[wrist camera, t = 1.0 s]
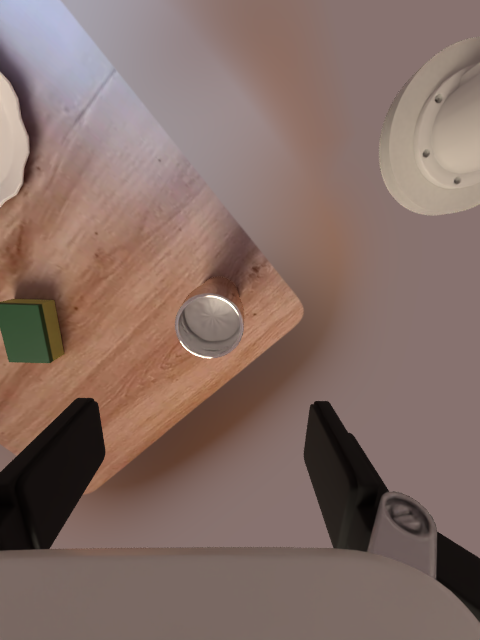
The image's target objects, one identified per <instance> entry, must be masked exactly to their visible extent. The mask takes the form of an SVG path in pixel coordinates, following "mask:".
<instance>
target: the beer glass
mask: <svg viewBox="0 0 480 640" xmlns="http://www.w3.org/2000/svg"><path fill="white" fill-rule="evenodd" d="M175 330H176V334H177V337H178V339H179V341H180V343H181V344H182V345H183V346H184V347H185V348H186V349H187V350H188V351H189V352H191V353H192V354H194V355H197V356H199V357H203V358H217V357H221V356H224V355H226V354H228V353H230V352H231V351H232V350H233V349H235V347H236V346H237V345H238V344H239V342H240V340H241V338H242V335H243V330H244V308H243V305H242V302H241V299H240V298H239V293H238V290H237V287H236V286H235V284H234V283H233V282H232V281H231V280H229V279H227V278H225V277H221V276H216V277H212V278H209V279H208V280H206V281H205V282H204V283H203V284H202V285H201V286H199V287H197V288H196V289H194V290H193V291H192V292H191V293H190V294H189V295H188V296H187V297H186V299H185V300H184V302H183V304H182V305H181V307H180V309H179V311H178V313H177V315H176V319H175Z"/></svg>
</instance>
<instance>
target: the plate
mask: <svg viewBox="0 0 480 640" xmlns="http://www.w3.org/2000/svg"><path fill="white" fill-rule="evenodd" d="M29 154H30V146H29V136H28V133H27V131H26V128H25V126H24V123H23V120H22V117H21V110H20V104H19V99H18V97H17V95H16V93H15V91H14V89H13V87H12V85H11V83H10V81H9V80H8V79H7V78H6V77H5V76H4V75H3V74H2V73H1V72H0V207H1V206H2V205H3V204H4V202H6V201H7V200H9V199H11V198H12V197H14V196H16V195H17V194H18V192H19V190H20V188H21V187H22V185H23V177H24V167H25V164H26V162H27V159H28V156H29Z"/></svg>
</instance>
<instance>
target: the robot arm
mask: <svg viewBox="0 0 480 640" xmlns="http://www.w3.org/2000/svg"><path fill="white" fill-rule="evenodd" d="M413 150H414V157H415V160H416V163H417V166H418V168H419V170H420V172H421V173H422V175H423V176H424V177H425V178H426V179H427V180H428V181H429V182H431V183H432V184H434V185H435V186H438V187H441V188H445V189H459V188H464V187H468V186H472V185H474V184H476V183H479V182H480V62H479V63H478V64H474V65H471V66H469V67H466V68H463V69H461V70H460V71H458V72H456V73H455V74H453V75H452V76H450V77H449V78H448V79H447V80H445V81H444V82H443V83H442V84H441V85H440V86H439V87H438V88H437V89H435V90H434V92H433V93H432V94H431V96H430V97H429V98H428V100H427V101H426V103H425V104H424V106H423V108H422V110H421V112H420V114H419V117H418V120H417V122H416V126H415V131H414V138H413ZM104 457H105V445H104V439H103V432H102V426H101V420H100V413H99V407H98V403H97V402H95V401H94V399H93V398H77V399H76V400H74V401H73V402H72V403H71V404H70V405H69V406H68V407H67V408H66V409H65V410H64V411H63V412H62V413H61V414H60V415H59V416H58V417H57V418H56V419H55V420H54V421H53V422H52V423H51V424H50V425H49V426H48V427H47V428H46V429H45V430H43V431H42V432H41V433H40V434H39V435H38V436H37V437H36V438H35V439H34V440H33V441H32V442H31V443H30V444H29V445H28V446H27V447H26V448H25V449H24V450H23V451H22V452H21V453H20V454H19V455H18V456H17V457H16V458H15V459H14V460H12V462H10V463H9V464H8V465H7V466H6V467H5V468H4V469H3V470H2V471H1V472H0V640H480V558H478V557H477V556H475V555H474V554H472V553H470V552H469V551H467V550H465V549H464V548H463V547H461V546H459V545H458V544H456V543H454V542H453V541H451V540H450V539H448V538H447V537H445V536H443V535H442V534H440V533H439V532H437V528H436V524H435V522H434V520H433V518H432V516H431V515H430V514H429V512H428V511H427V510H426V509H425V508H424V507H423V506H422V505H421V504H420V503H419V502H417V501H416V500H414V499H413V498H411V497H410V496H407V495H405V494H402V493H399V492H389V491H388V489H387V487H386V486H385V484H384V483H383V481H382V479H381V478H380V476H379V475H378V473H377V472H376V470H375V468H374V467H373V465H372V464H371V462H370V461H369V459H368V458H367V456H366V454H365V453H364V451H363V450H362V448H361V447H360V445H359V443H358V442H357V440H356V439H355V437H354V436H353V435H352V434H351V433H348V432H347V430H346V429H345V427H344V425H343V424H342V422H341V421H340V419H339V417H338V416H337V414H336V413H335V411H334V409H333V408H332V406H331V404H330V403H329V402H328V401H315V402H314V404H311V405H310V410H309V418H308V425H307V432H306V441H305V448H304V460H305V464H306V467H307V470H308V473H309V476H310V479H311V482H312V485H313V488H314V491H315V494H316V497H317V500H318V503H319V506H320V509H321V512H322V515H323V518H324V521H325V524H326V527H327V530H328V533H329V536H330V539H331V542H332V545H333V548H294V547H207V548H206V547H205V548H203V547H200V548H199V547H197V548H93V549H92V548H90V549H49V548H50V547H51V545H52V544H53V542H54V540H55V539H56V537H57V536H58V533H59V532H60V530H61V529H62V527H63V526H64V524H65V522H66V521H67V519H68V517H69V516H70V514H71V512H72V511H73V509H74V508H75V506H76V504H77V503H78V501H79V499H80V498H81V496H82V494H83V493H84V491H85V490H86V488H87V486H88V485H89V483H90V481H91V480H92V478H93V476H94V475H95V473H96V471H97V470H98V468H99V467H100V465H101V463H102V462H103V460H104Z"/></svg>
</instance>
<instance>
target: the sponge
mask: <svg viewBox="0 0 480 640" xmlns="http://www.w3.org/2000/svg"><path fill="white" fill-rule="evenodd" d="M0 329H1V333H2V337H3V341H4V345H5V348H6V352H7V356H8V360H9V362H25V363H51V362H52V361H54V360H56V359H57V358H59V357H60V356H62V355H63V354H64V350H63V345H62V339H61V334H60V328H59V323H58V317H57V312H56V307H55V301H54V300H36V299H11V300H7V301H3V302H0Z"/></svg>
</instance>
